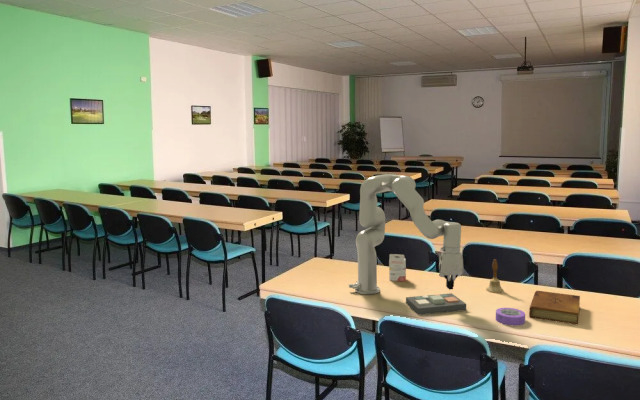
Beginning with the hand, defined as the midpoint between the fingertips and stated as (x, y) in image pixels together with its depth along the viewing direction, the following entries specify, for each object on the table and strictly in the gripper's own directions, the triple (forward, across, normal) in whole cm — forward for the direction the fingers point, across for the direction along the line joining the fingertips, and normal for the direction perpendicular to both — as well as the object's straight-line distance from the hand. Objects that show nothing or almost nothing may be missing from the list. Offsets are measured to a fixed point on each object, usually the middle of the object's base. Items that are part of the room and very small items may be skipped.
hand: (449, 288), depth 228 cm
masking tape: (+8, +18, -22) cm, 29 cm away
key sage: (+6, -6, -1) cm, 9 cm away
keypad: (+9, -6, +1) cm, 11 cm away
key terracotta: (+7, +1, -1) cm, 7 cm away
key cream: (+8, -13, -1) cm, 15 cm away
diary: (+8, +42, -18) cm, 46 cm away
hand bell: (+8, +32, +15) cm, 36 cm away
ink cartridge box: (+10, -9, +44) cm, 46 cm away
